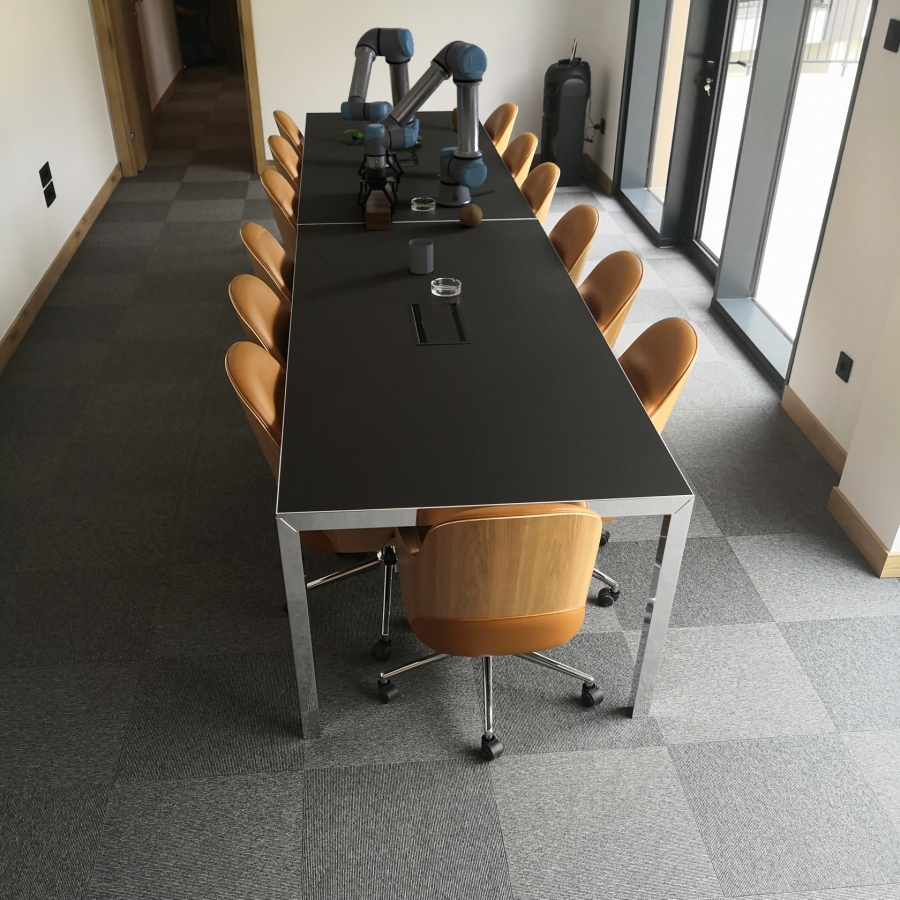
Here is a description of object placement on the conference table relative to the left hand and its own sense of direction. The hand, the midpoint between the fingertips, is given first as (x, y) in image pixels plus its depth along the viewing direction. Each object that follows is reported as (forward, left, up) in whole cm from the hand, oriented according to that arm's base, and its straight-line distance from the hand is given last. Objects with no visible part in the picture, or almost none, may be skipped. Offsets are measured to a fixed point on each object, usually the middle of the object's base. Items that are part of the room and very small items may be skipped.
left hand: (381, 191), depth 380 cm
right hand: (+29, +21, -2) cm, 36 cm away
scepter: (-76, -68, -3) cm, 102 cm away
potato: (+10, +53, -3) cm, 54 cm away
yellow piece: (-128, -43, -3) cm, 135 cm away
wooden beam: (+14, +10, -3) cm, 18 cm away
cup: (+61, +66, -3) cm, 89 cm away
